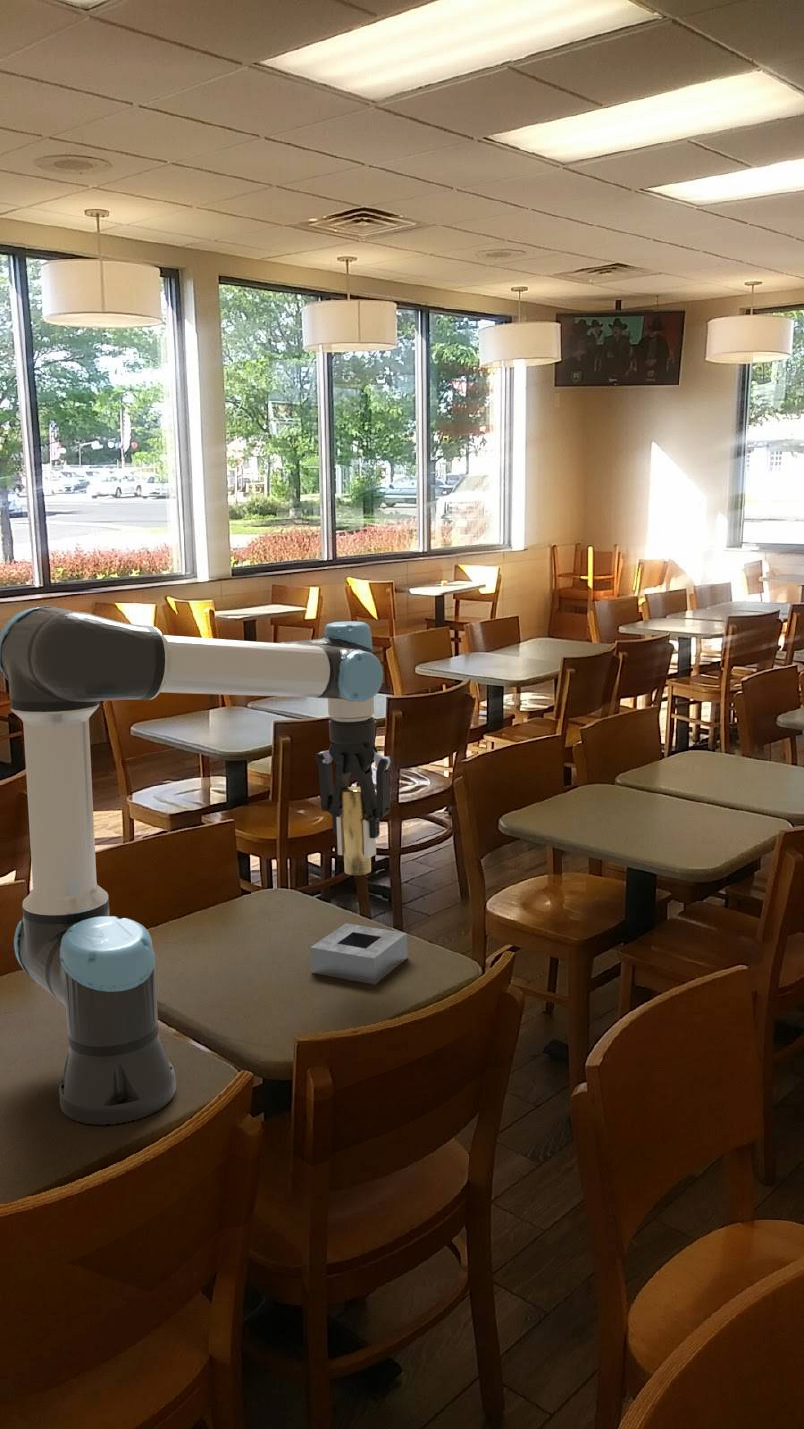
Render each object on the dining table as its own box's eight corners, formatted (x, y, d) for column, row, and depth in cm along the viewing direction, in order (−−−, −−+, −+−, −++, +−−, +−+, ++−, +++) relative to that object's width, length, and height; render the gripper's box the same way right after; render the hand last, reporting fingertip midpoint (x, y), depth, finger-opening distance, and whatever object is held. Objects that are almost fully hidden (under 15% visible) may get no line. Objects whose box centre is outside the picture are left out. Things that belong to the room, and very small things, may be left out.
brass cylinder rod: (363, 876, 189) (359, 794, 186) (339, 873, 191) (336, 791, 188) (375, 868, 193) (372, 787, 190) (352, 865, 194) (349, 785, 192)
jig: (374, 984, 187) (373, 958, 186) (311, 972, 192) (310, 947, 191) (407, 957, 197) (406, 933, 196) (346, 947, 202) (345, 923, 202)
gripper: (409, 715, 186) (413, 853, 190) (317, 709, 194) (323, 842, 198) (388, 724, 179) (393, 867, 184) (293, 718, 187) (300, 855, 192)
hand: (357, 854), depth 191 cm, fingers closed on brass cylinder rod, 4 cm apart
